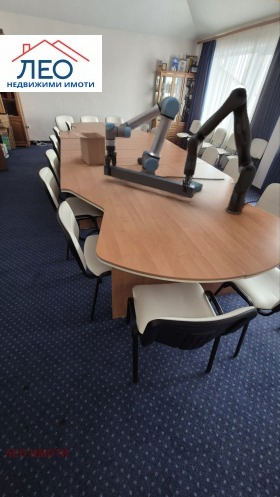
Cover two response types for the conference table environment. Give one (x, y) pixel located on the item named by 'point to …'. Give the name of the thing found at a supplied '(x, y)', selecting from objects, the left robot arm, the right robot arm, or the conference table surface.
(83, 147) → the box
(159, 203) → the conference table surface
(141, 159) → the laser sight
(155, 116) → the left robot arm
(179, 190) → the post
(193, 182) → the book
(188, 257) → the conference table surface
